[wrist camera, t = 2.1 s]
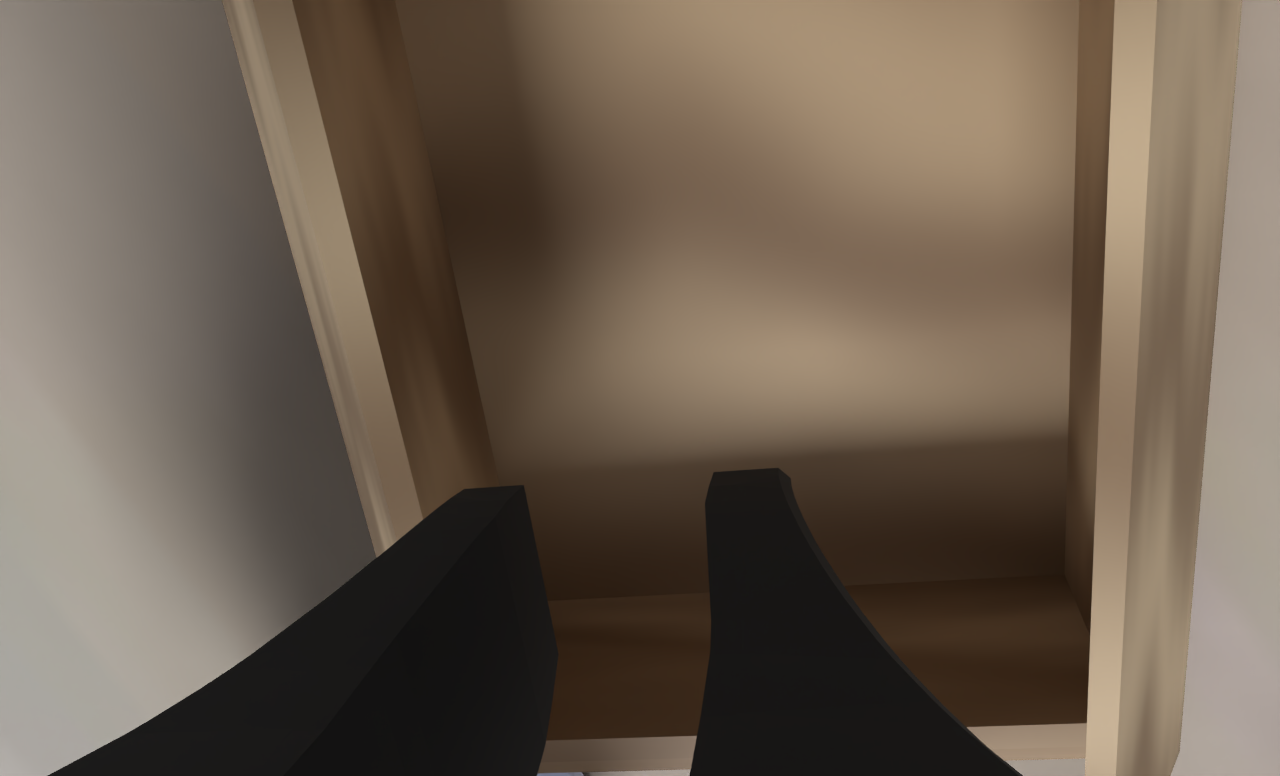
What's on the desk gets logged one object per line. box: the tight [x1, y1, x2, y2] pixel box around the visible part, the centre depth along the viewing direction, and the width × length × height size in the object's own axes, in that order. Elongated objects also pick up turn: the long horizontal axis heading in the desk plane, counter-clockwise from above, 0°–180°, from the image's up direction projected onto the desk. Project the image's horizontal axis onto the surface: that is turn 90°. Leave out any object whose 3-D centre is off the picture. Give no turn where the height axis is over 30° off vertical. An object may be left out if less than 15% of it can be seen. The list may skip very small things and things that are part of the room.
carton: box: [292, 0, 1115, 773], centre depth 18 cm, size 17×12×4 cm
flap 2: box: [1085, 0, 1242, 776], centre depth 13 cm, size 15×1×4 cm, turn 8°
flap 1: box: [222, 0, 423, 558], centre depth 15 cm, size 15×1×4 cm, turn 8°
